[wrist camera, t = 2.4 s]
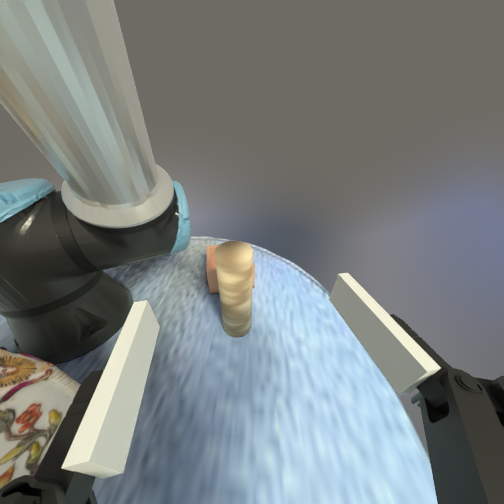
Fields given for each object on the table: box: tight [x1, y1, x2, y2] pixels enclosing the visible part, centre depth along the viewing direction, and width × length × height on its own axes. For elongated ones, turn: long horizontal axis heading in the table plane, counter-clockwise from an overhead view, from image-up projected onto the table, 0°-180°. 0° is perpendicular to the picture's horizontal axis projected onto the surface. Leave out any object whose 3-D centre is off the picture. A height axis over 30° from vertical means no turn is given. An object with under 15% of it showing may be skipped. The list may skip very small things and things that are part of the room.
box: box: [206, 245, 255, 294], centre depth 41 cm, size 10×10×6 cm
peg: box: [214, 241, 253, 337], centre depth 28 cm, size 5×5×16 cm
